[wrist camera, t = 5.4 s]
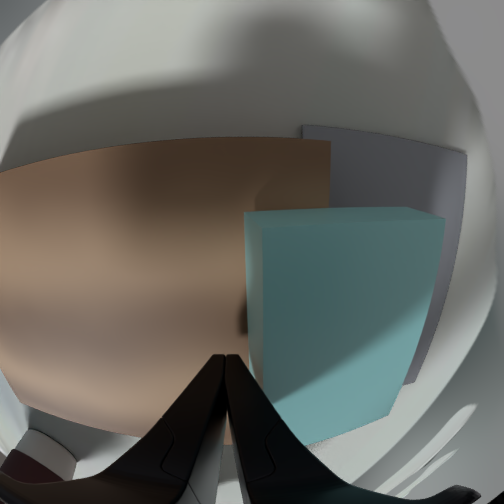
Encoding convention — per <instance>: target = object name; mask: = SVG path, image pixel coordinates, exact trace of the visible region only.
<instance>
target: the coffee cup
mask: <svg viewBox="0 0 504 504" xmlns="http://www.w3.org/2000/svg"><path fill="white" fill-rule="evenodd" d="M75 468H76V460H75V458H74V457H73V455H72V454H71V453H70V452H69V451H68V450H66V449H65V448H64V447H63V446H62V445H60V444H59V443H57V442H56V441H55V440H53V439H52V438H50V437H48V436H47V435H45V434H43V433H41V432H39V431H36V430H32V429H30V430H27V431H26V433H25V434H24V436H23V437H22V439H21V440H20V442H19V443H18V445H17V446H16V448H15V449H12V450H11V452H10V453H9V455H8V456H7V458H6V459H5V461H4V463H3V464H2V466H1V468H0V471H1V472H3V473H4V474H6V475H7V476H9V477H11V478H12V479H14V480H16V481H19V482H22V483H28V484H42V483H53V482H62V481H69V480H72V479H73V475H74V471H75ZM0 504H7V503H5V502H4V501H3V500H1V499H0Z"/></svg>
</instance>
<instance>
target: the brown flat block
mask: <svg viewBox="0 0 504 504" xmlns="http://www.w3.org/2000/svg"><path fill="white" fill-rule="evenodd" d="M330 167H331V141H326V140H314V139H299V138H278V137H211V138H190V139H175V140H163V141H153V142H143V143H135V144H127V145H120V146H113V147H106V148H100V149H94V150H89V151H83V152H78V153H73V154H68V155H64V156H59V157H55V158H50V159H46V160H42V161H38V162H34V163H31V164H27V165H23V166H20V167H16V168H13V169H10V170H7V171H3V172H0V369H1V371H2V372H3V374H4V376H5V378H6V380H7V381H8V383H9V385H10V387H11V388H12V390H13V391H14V393H15V395H16V396H17V398H18V399H19V401H20V402H21V403H23V404H25V405H28V406H30V407H33V408H35V409H38V410H40V411H43V412H46V413H48V414H51V415H54V416H57V417H60V418H63V419H66V420H69V421H72V422H76V423H79V424H83V425H86V426H90V427H94V428H98V429H102V430H106V431H110V432H115V433H120V434H125V435H130V436H136V437H141V438H142V437H144V436H145V435H146V433H147V432H148V431H149V430H150V429H151V428H152V427H153V426H154V425H155V424H156V422H157V421H158V420H159V419H160V418H162V416H163V414H164V413H165V412H166V411H167V410H168V408H169V407H170V406H171V405H172V404H173V402H174V401H175V400H176V399H177V398H178V396H179V395H180V394H181V393H182V392H183V390H184V389H185V388H186V387H187V386H188V384H189V383H190V382H191V381H192V379H193V378H194V377H195V376H196V375H197V373H198V372H199V371H200V370H201V368H202V367H203V366H204V365H205V363H206V362H207V361H208V360H209V358H210V357H211V356H212V355H213V354H225V356H226V355H227V354H239V355H240V357H241V359H242V360H243V362H244V363H245V365H246V366H247V368H248V369H249V346H248V319H247V291H246V262H245V231H244V212H253V211H270V210H290V209H314V208H329V194H330ZM223 445H232V439H231V433H230V427H229V421H228V412H227V422H226V429H225V436H224V444H223Z"/></svg>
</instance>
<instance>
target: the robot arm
mask: <svg viewBox="0 0 504 504" xmlns="http://www.w3.org/2000/svg"><path fill="white" fill-rule="evenodd" d="M227 412H228V421H229V427H230V433H231V439H232V445H233V451H234V456H235V462H236V467H237V473H238V478H239V483H240V488H241V493H242V498H243V503H244V504H472V503H473V502H475V501H476V500H478V499H479V498H480V497H481V495H480V493H478V492H477V491H475V490H473V489H471V488H467V487H464V486H459V485H454V486H452V487H450V488H447V489H446V490H444V491H442V492H440V493H438V494H436V495H434V496H432V497H429V498H426V499H420V500H409V499H403V498H398V497H393V496H389V495H385V494H381V493H377V492H373V491H370V490H366V489H363V488H360V487H356V486H353V485H351V484H349V483H347V482H345V481H344V480H342V479H341V478H339V477H338V476H337V475H336V474H334V473H333V472H332V471H331V470H330V469H329V468H328V467H326V466H325V465H324V464H323V463H322V462H321V461H320V460H319V459H318V458H317V457H316V456H315V455H313V454H312V453H311V452H310V451H309V450H308V449H307V448H306V447H305V446H304V445H303V444H302V443H301V442H300V440H299V439H298V438H297V437H296V436H295V435H294V433H293V432H292V431H291V430H290V428H289V427H288V426H287V424H286V423H285V422H284V420H283V419H282V418H281V416H280V415H279V413H278V412H277V411H276V409H275V408H274V406H273V405H272V403H271V402H270V401H269V399H268V398H267V396H266V395H265V393H264V392H263V390H262V389H261V387H260V386H259V384H258V383H257V381H256V380H255V378H254V377H253V375H252V374H251V372H250V371H249V369H248V368H247V366H246V365H245V363H244V362H243V360H242V359H241V357H240V355H239V354H227V355H226V356H225V354H213V355H212V356H211V357H210V358H209V360H208V361H207V362H206V363H205V365H204V366H203V367H202V368H201V370H200V371H199V372H198V373H197V375H196V376H195V377H194V378H193V379H192V381H191V382H190V383H189V384H188V386H187V387H186V388H185V389H184V390H183V392H182V393H181V394H180V395H179V396H178V398H177V399H176V400H175V401H174V402H173V404H172V405H171V406H170V407H169V408H168V410H167V411H166V412H165V413H164V414H163V416H162V418H160V419H159V420H158V421H157V422H156V424H155V425H154V426H153V427H152V428H151V429H150V430H149V431H148V432H147V433H146V435H145V436H144V437H142V438H141V439H140V440H139V441H138V442H137V443H136V444H135V445H134V446H133V447H132V448H130V449H129V450H128V451H127V452H126V453H124V454H123V455H122V456H121V457H120V458H118V459H117V460H116V461H115V462H114V463H112V464H111V465H110V466H109V467H108V468H106V469H105V470H103V471H102V472H100V473H98V474H96V475H94V476H91V477H87V478H82V479H76V480H69V481H62V482H53V483H42V484H28V483H22V482H19V481H16V480H14V479H12V478H11V477H9V476H7V475H6V474H4V473H3V472H1V471H0V499H1V500H3V501H4V502H5V503H7V504H215V502H216V495H217V487H218V480H219V473H220V465H221V458H222V451H223V444H224V436H225V429H226V422H227ZM487 504H504V491H503V492H502V493H500V494H499V495H498V496H497V497H495V498H494V499H493V500H491V501H490V502H489V503H487Z"/></svg>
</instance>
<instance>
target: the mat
mask: <svg viewBox="0 0 504 504" xmlns="http://www.w3.org/2000/svg"><path fill="white" fill-rule="evenodd" d="M302 139H314V140H326V141H331V167H330V194H329V208H346V207H409V208H412V209H416V210H419V211H423V212H426V213H429V214H432V215H436V216H439V217H442V218H445V219H446V223H445V231H444V238H443V244H442V250H441V256H440V262H439V267H438V272H437V276H436V281H435V285H434V290H433V294H432V298H431V302H430V306H429V309H428V313H427V316H426V320H425V323H424V326H423V330H422V333H421V336H420V339H419V342H418V345H417V348H416V351H415V353H414V356H413V359H412V362H411V364H410V367H409V369H408V372H407V375H406V377H405V379H404V382H403V384H402V385H406V384H410V383H413V382H415V380H416V378H417V376H418V373H419V371H420V369H421V367H422V364H423V362H424V359H425V357H426V355H427V352H428V349H429V347H430V344H431V342H432V339H433V336H434V333H435V331H436V328H437V325H438V322H439V319H440V316H441V312H442V309H443V306H444V303H445V299H446V296H447V292H448V288H449V284H450V281H451V276H452V272H453V268H454V263H455V259H456V254H457V249H458V243H459V238H460V231H461V225H462V218H463V210H464V200H465V189H466V173H467V155H466V154H463V153H460V152H456V151H453V150H449V149H446V148H442V147H438V146H434V145H430V144H426V143H422V142H418V141H413V140H409V139H404V138H399V137H394V136H388V135H383V134H377V133H371V132H364V131H358V130H350V129H342V128H334V127H324V126H313V125H302Z"/></svg>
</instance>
